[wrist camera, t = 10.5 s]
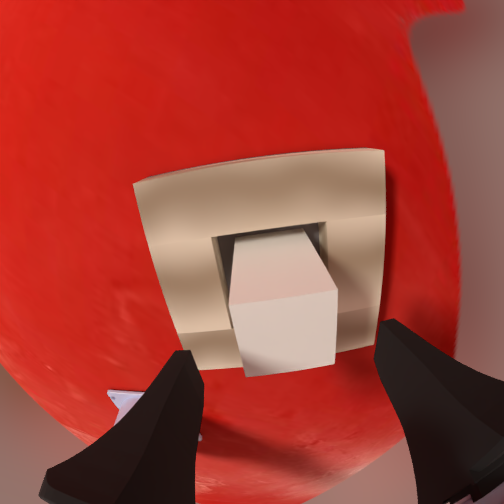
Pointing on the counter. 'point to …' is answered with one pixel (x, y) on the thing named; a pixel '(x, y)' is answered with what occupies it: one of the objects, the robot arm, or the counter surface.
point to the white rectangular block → (282, 304)
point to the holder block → (259, 222)
